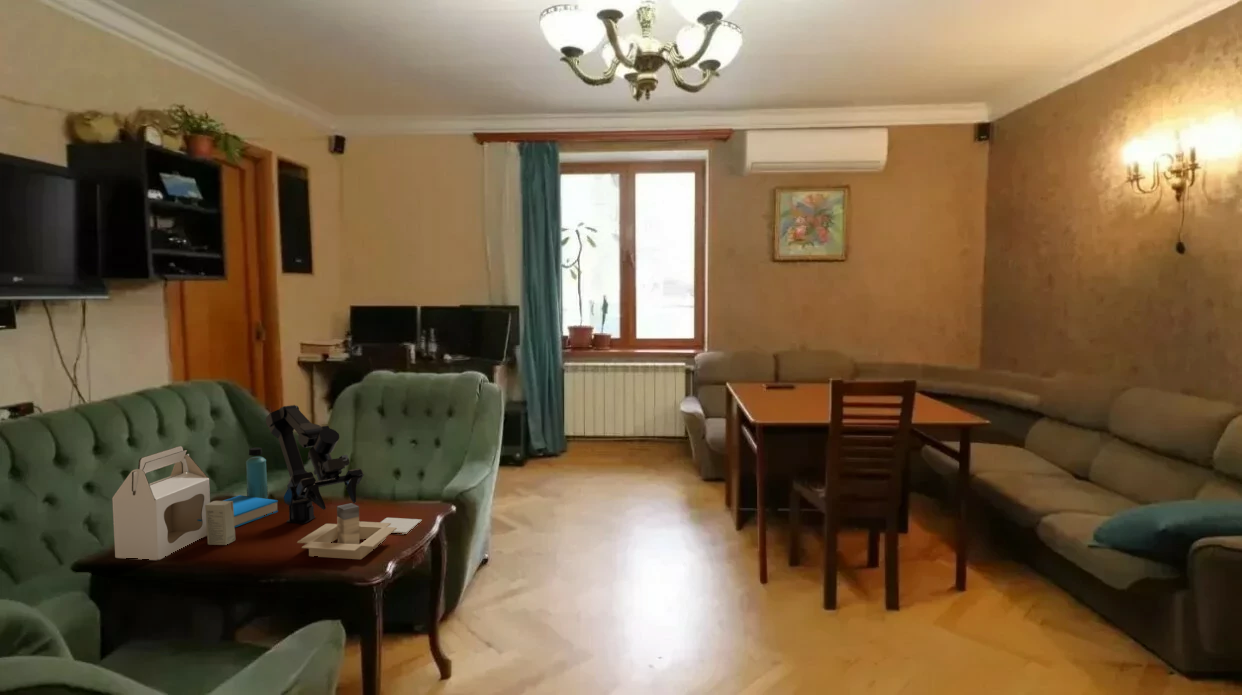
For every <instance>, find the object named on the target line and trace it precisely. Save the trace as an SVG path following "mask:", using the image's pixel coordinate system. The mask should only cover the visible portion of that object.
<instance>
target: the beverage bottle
mask: <svg viewBox="0 0 1242 695" xmlns="http://www.w3.org/2000/svg"><path fill="white" fill-rule="evenodd" d="M262 454H263V448H262V447H252V448H249V449H248V455H249V456H251V457H249V458H248V459H247V460H246V461H245V465H246V496H250V497H257V498H264V499H269V498H268V497H269V492H268V474H267V459H266V458H265V457H263V456H261V455H262ZM252 456H253V457H252Z"/></svg>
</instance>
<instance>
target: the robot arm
mask: <svg viewBox="0 0 1242 695" xmlns="http://www.w3.org/2000/svg"><path fill="white" fill-rule="evenodd" d="M265 423H266V426H267V427H268V430H269V432H270V434H271V435H273V436H274V437H276V438H277V439H278V442H279V445H280V448H281V451H282V455H283V457H284V462H285V464H286V469H287V472H288V474H289V480H288V483H287V489H286V491H285V493H284V495H283V500H284V501H283V502H284V504H286V505H288V512H289V514H288V515H289V516H288V518H289V519H287V520H286V523H288V524H301V525H302V524H306V523H309V522H310V521H312V520H313V519H315V518H316V515H314V514H315V511H314V510H315V509H314V505H313V503H314V504H315V505H316V506H318V507H319V508H320V509H321V510H323V511H325V510H326V509H327V507H326V504H325V501H324V499H323V497H322V495H321V493H320V488H321V487H326V486H332V485H338V484H341V483H344V486H346V488H345V490H346V492H347V494H348V495H349V497H350V500H351V501H352V502H351V503H353V504H356V503H357V486H358V485H359V484H360V482H361V480H362V479H363V477H364V476H365V474H364V471H363V470H362V468H353V469H349V470H347V472H346V474H345V475H341V474H342V472H343V471H342V469H345V468H346V467H347V466H349V465H350V458H349V456H348V455H347V454H344V455H340V456H339V457H338V458H337V457H336V458H332V455H331V453H332V452H333V451H334V450H335V447H336V446H337V443H338V441H339V439H340V433H339V432H338V431H336V430H335V429H333V428H330V427H329V425H323V426H322V425H319V424H316V423H312V422H311V421H310V420H309V419H308V418H307V417H306V415H304V414H303V412H301V410H300V408H299V406H298V405H295V404H293V405H283V406H282V407H280V408H279V409H277V410H274V411H272V412H270V413H269V414H268V415H267V416H266V418H265ZM294 431H295V432H296V433H297V434H298V437H297V441H298V442H297V441H296V437H295V434H294ZM297 443H298V444H299V445H300V446H301V447H302V448H304V449H305V448H306V449H307V448H310V449H309V451H308V454H307V460H310V461H311V463H312V467H313V472H312V471H307V470H306V469H305V466H304V462H303V459H302V455H301V453H300V450H299V447H298V444H297ZM314 475H315V476H316V477H317V480H316V478H315V477H314ZM340 475H341V476H340Z"/></svg>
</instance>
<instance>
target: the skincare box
mask: <svg viewBox="0 0 1242 695" xmlns="http://www.w3.org/2000/svg"><path fill="white" fill-rule="evenodd" d="M205 510H206V525H207V536H206V537H207V545H209V546H212V545H214V546H216V545H217V546H227V544H228V545H229V544H231V543H233V542H235V541H236V527H235V525H234V509H233V501H223V500H213V501H210V503H208V504H206V505H205Z"/></svg>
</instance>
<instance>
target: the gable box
mask: <svg viewBox="0 0 1242 695" xmlns="http://www.w3.org/2000/svg"><path fill="white" fill-rule="evenodd" d="M187 451H188V450H187V449H184V447H183V446H181V445H178V446H175V447H171V448H169V449H166V450H162V451H159V452H156V453H153V454H149V455H146V456H142V457H140V458H139V460H138V466H137V468H135V469H133V470H131V471H130V473H128V475H127V477H126V478H125V479H124V481H123V482H122V484H120V486H119V488H118V489H117V491H116V492H115V493H114V494H113V496H112V500H111V501H112V516H113V518H112V519H113V536H114V537H113V539H114V557H115V558H116V559H126V558H138V559H137V560H142V559H149V560H148V561H160V560H162V559H164V558H166V557H168V556H170V555H171V553H172V554H174V553H175V551H176V552H178V551H179V549H180V550H181V548H182V549H183V547H184V548H186V547H187V545H188V546H189V544H190V545H192V544H193V542H194V543H195V541H196V542H197V540H198V541H200V540H201V538H202V539H203V538H205V537H207V525H206V510H205V505H206V504H208V503H210V502H211V494H210V493H211V491H210V478H209V477H208V475H207V474H206V473H205V472H204V471H203V469H201V467H199V465H198V464H197V463H196V462H195V461H194V459H193V458H192V457H191V456H190V453H187ZM173 464H174V465H173ZM170 465H173V468H172V470H171V473H170V475H169V476H167V477H164V478H161V479H158V480H156V481H153V482H151V483H149V480H148V478H147V475H146V474H147V473H149V472H153V471H156V470H159V469H162V468H165V467H168V466H170ZM197 519H201V520H202V525H201V527H200V528H199V529H198V521H197ZM199 539H200V540H199ZM191 543H192V544H191ZM185 546H186V547H185ZM177 550H178V551H177ZM173 552H174V553H173ZM165 556H166V557H165Z"/></svg>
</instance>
